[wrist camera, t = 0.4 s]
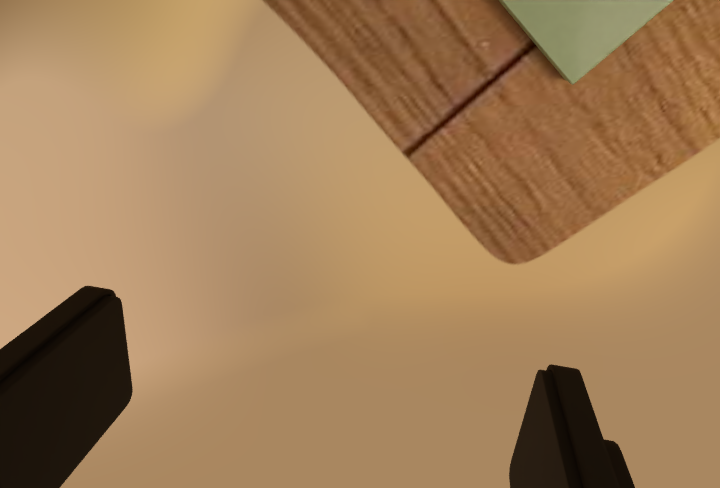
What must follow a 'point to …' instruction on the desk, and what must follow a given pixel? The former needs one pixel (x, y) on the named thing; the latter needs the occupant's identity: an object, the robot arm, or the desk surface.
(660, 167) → the desk surface
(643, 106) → the desk surface
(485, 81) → the desk surface
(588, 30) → the board
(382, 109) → the desk surface
